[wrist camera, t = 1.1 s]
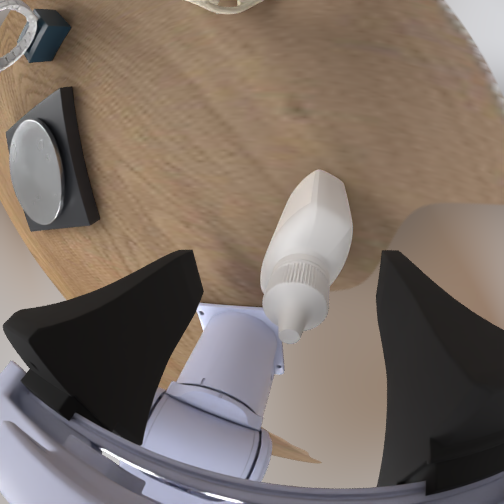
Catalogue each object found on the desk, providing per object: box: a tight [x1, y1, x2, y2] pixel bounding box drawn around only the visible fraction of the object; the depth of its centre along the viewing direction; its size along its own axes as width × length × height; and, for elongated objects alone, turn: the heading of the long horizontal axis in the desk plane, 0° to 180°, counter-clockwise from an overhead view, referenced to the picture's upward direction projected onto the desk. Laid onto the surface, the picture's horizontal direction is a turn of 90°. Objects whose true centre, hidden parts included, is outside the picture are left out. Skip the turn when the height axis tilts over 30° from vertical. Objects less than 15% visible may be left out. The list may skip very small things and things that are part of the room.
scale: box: [6, 87, 100, 232], centre depth 22 cm, size 14×14×2 cm
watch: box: [0, 0, 71, 72], centre depth 10 cm, size 6×8×11 cm
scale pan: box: [9, 119, 65, 225], centre depth 21 cm, size 12×12×1 cm
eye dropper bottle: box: [260, 169, 353, 344], centre depth 13 cm, size 4×6×12 cm
